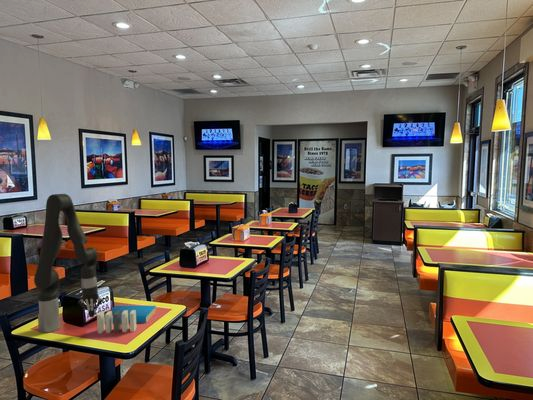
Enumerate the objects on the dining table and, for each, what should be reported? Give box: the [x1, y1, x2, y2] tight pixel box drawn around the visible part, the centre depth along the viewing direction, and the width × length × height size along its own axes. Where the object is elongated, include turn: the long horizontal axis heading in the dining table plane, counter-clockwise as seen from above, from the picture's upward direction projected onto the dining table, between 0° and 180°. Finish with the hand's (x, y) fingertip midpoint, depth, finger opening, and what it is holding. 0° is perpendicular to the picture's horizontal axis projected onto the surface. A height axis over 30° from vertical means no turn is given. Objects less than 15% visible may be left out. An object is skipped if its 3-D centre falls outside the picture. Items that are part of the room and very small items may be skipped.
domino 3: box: [113, 311, 122, 334], centre depth 201 cm, size 2×5×10 cm, turn 5°
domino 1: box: [96, 311, 106, 334], centre depth 200 cm, size 2×5×10 cm, turn 5°
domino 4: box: [121, 310, 130, 333], centre depth 201 cm, size 2×5×10 cm, turn 6°
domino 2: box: [104, 310, 114, 334], centre depth 200 cm, size 2×5×10 cm, turn 6°
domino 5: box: [129, 310, 137, 333], centre depth 202 cm, size 2×5×10 cm, turn 6°
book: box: [104, 304, 157, 323], centre depth 219 cm, size 17×4×25 cm
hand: (91, 316), depth 199 cm, fingers closed
